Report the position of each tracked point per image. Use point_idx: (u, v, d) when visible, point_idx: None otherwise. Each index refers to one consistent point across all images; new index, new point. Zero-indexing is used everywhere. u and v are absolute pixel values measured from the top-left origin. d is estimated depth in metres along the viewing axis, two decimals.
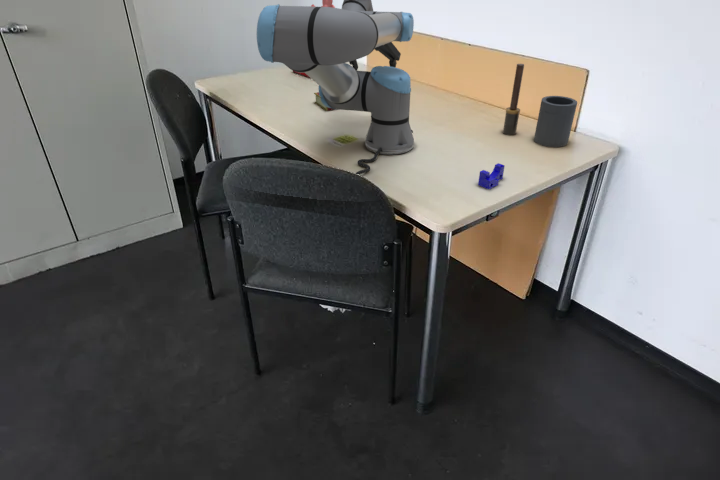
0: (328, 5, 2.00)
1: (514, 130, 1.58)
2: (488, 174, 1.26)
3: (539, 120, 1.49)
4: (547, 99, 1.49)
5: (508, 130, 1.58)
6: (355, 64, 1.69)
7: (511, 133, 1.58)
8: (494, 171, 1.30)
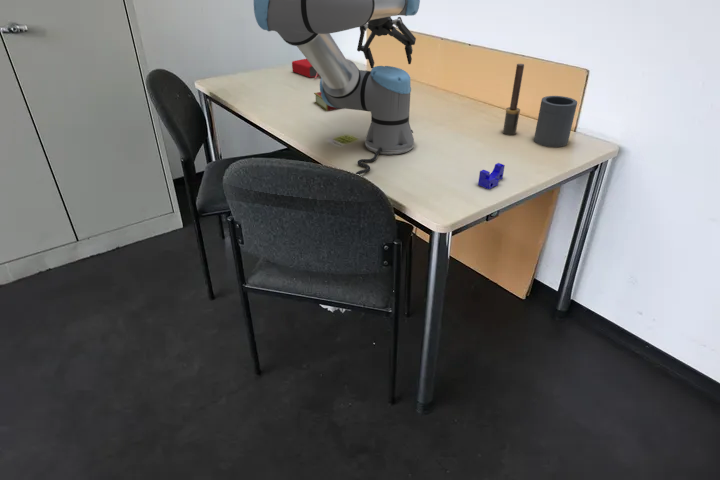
0: None
1: (514, 130, 1.58)
2: (488, 174, 1.26)
3: (539, 120, 1.49)
4: (547, 99, 1.49)
5: (508, 130, 1.58)
6: (371, 58, 1.68)
7: (511, 133, 1.58)
8: (494, 171, 1.30)
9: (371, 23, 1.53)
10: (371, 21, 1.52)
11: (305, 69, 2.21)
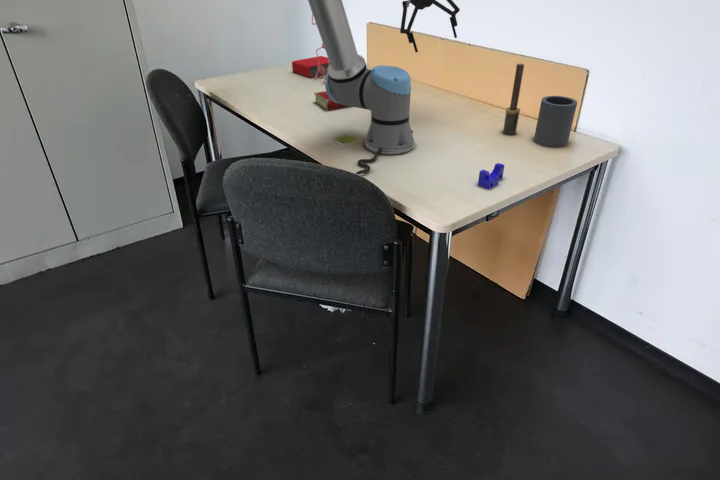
0: None
1: (514, 130, 1.58)
2: (488, 174, 1.26)
3: (539, 120, 1.49)
4: (547, 99, 1.49)
5: (508, 130, 1.58)
6: None
7: (511, 133, 1.58)
8: (494, 171, 1.30)
9: None
10: None
11: (305, 69, 2.21)
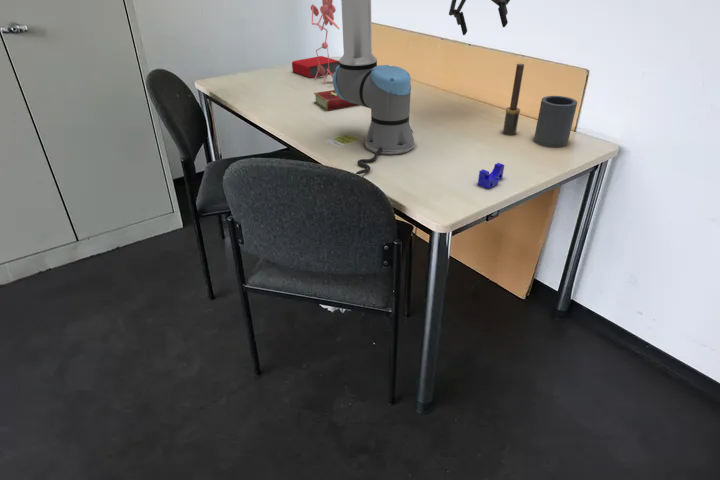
0: (328, 5, 2.00)
1: (514, 130, 1.58)
2: (488, 173, 1.26)
3: (539, 120, 1.49)
4: (547, 99, 1.49)
5: (508, 130, 1.58)
6: None
7: (511, 133, 1.58)
8: (494, 171, 1.30)
9: None
10: None
11: (305, 69, 2.21)
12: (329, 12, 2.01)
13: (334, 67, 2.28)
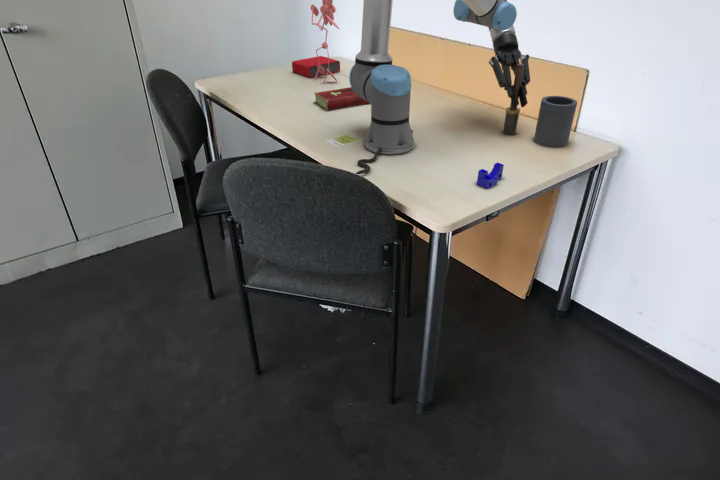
0: (328, 5, 2.00)
1: (514, 130, 1.58)
2: (487, 173, 1.26)
3: (539, 120, 1.49)
4: (547, 99, 1.49)
5: (508, 130, 1.58)
6: None
7: (511, 133, 1.58)
8: (493, 170, 1.30)
9: (505, 41, 1.52)
10: (506, 38, 1.52)
11: (305, 69, 2.21)
12: (329, 12, 2.01)
13: (334, 67, 2.28)
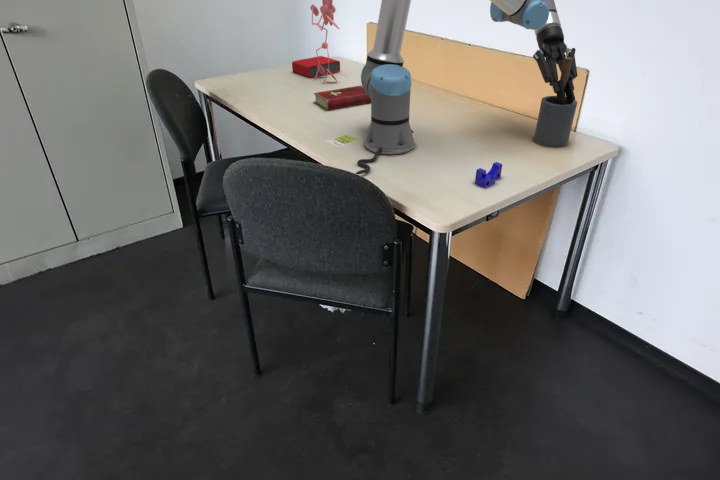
0: (328, 5, 2.00)
1: None
2: (484, 172, 1.27)
3: (539, 120, 1.49)
4: (547, 99, 1.49)
5: None
6: None
7: None
8: (492, 170, 1.30)
9: (551, 33, 1.43)
10: (551, 31, 1.44)
11: (305, 69, 2.21)
12: (329, 12, 2.01)
13: (334, 67, 2.28)
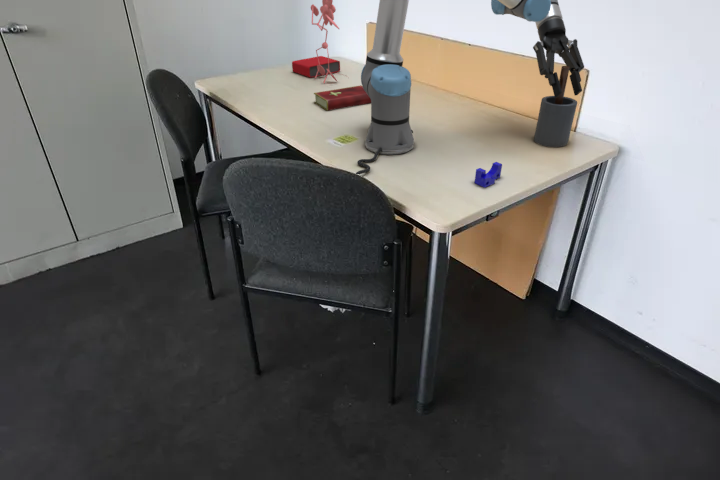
0: (328, 5, 2.00)
1: None
2: (484, 172, 1.27)
3: (539, 120, 1.49)
4: (547, 99, 1.49)
5: None
6: None
7: None
8: (491, 169, 1.31)
9: (553, 26, 1.42)
10: (553, 23, 1.42)
11: (305, 69, 2.21)
12: (329, 12, 2.01)
13: (334, 67, 2.28)
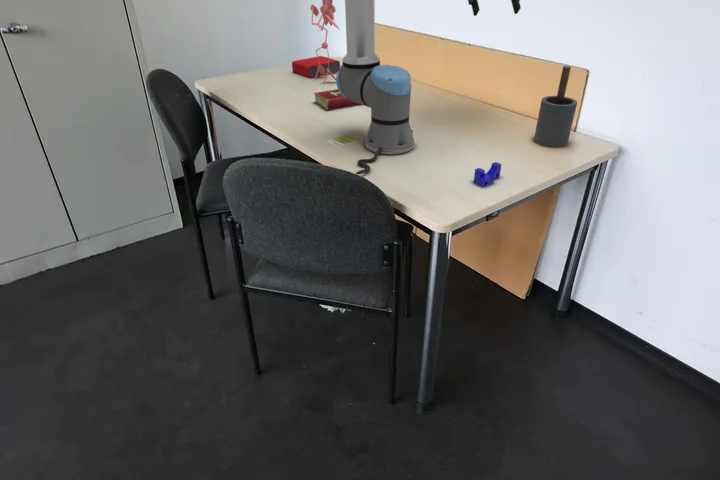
0: (328, 5, 2.00)
1: None
2: (483, 172, 1.27)
3: (539, 120, 1.49)
4: (547, 99, 1.49)
5: None
6: None
7: None
8: (491, 169, 1.31)
9: None
10: None
11: (305, 69, 2.21)
12: (329, 12, 2.01)
13: (334, 67, 2.28)
